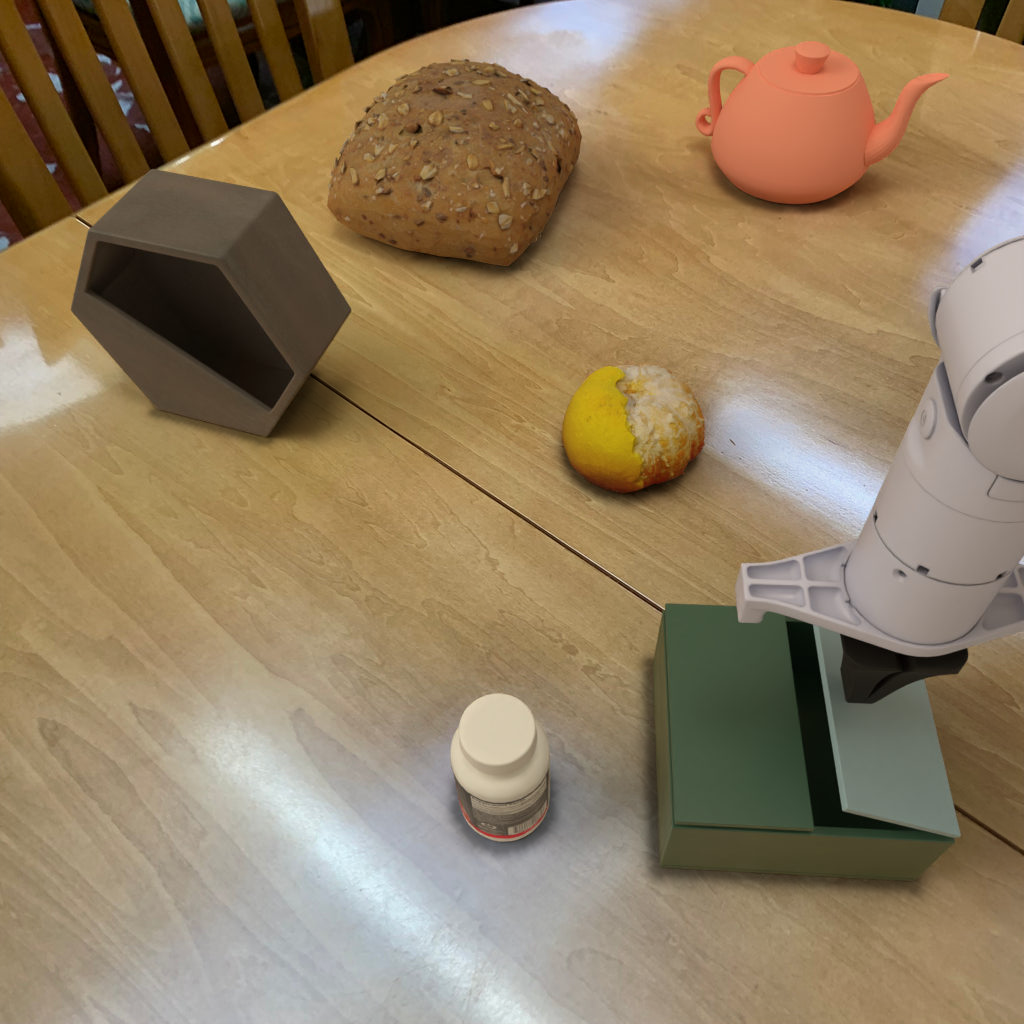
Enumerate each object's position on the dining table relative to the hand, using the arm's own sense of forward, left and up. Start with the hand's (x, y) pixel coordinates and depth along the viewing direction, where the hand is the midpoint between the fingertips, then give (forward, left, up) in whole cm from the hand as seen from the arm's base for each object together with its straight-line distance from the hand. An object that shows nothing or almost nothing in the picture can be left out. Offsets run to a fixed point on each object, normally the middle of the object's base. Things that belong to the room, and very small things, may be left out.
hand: (856, 685), depth 47 cm
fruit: (+10, -25, -10) cm, 29 cm away
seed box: (+2, 0, -10) cm, 11 cm away
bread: (+26, -58, -10) cm, 65 cm away
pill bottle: (+18, +3, -10) cm, 21 cm away
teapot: (-7, -63, -10) cm, 64 cm away
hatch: (-1, 0, -2) cm, 2 cm away
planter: (+42, -30, -10) cm, 53 cm away
